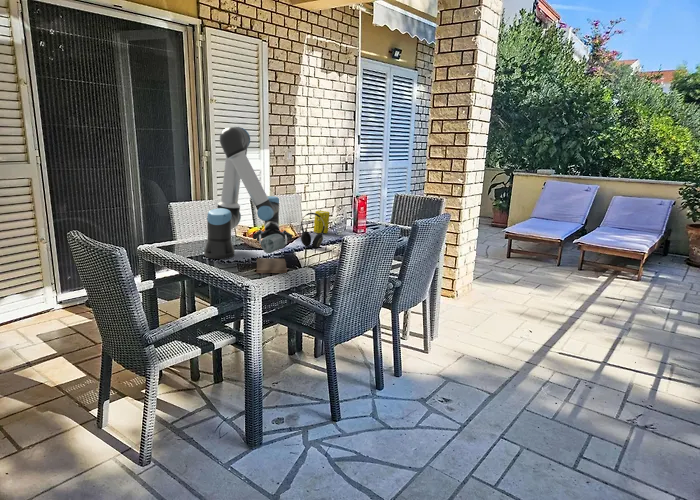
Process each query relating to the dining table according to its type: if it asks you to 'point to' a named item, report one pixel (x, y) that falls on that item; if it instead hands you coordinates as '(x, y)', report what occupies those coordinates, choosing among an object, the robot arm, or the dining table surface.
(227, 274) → the dining table surface
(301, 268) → the dining table surface
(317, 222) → the food
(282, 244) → the grey rounded cylinder
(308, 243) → the headphones
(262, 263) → the stand
